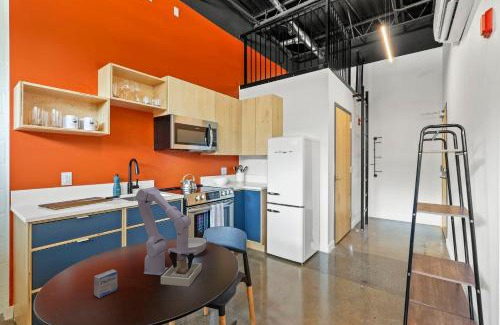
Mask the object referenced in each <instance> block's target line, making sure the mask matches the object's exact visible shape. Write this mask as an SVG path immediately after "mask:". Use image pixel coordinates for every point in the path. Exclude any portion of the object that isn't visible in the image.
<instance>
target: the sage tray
mask: <svg viewBox="0 0 500 325" xmlns="http://www.w3.org/2000/svg"><path fill="white" fill-rule="evenodd" d="M201 271H202V262H201V263H200V262H192V265H191V268H190V269H188V261H187V273H186V274H178V260H177V266H176V267H175V268H174V267H173V264H172V265H171V266H170V267H168V269H167V270H166V271H165V272H164V273H163V274H162V275H160V285H167V286H176V287H177V286H178V287H188V288H190V287H191V285H192V284H193V282H194V281H195V279H196V278H197V277H198V275H199V274H200V273H201Z"/></svg>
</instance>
